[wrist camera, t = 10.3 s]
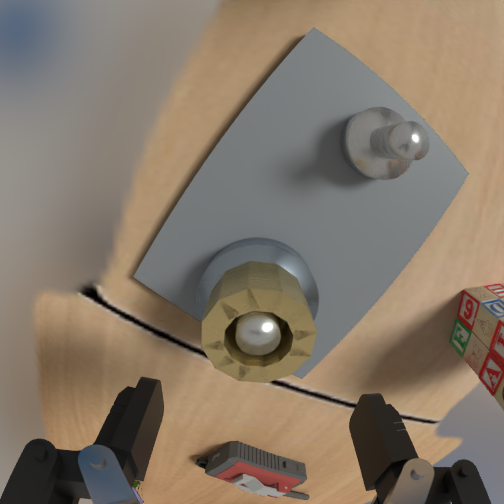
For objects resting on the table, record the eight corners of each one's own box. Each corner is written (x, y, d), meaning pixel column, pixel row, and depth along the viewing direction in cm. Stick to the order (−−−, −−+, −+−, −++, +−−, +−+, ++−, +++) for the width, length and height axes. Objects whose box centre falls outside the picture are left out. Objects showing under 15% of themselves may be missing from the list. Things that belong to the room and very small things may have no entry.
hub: (243, 213, 19) (239, 235, 14) (335, 280, 20) (360, 320, 15) (180, 302, 21) (159, 347, 16) (268, 355, 22) (271, 406, 17)
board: (310, 33, 16) (313, 27, 15) (460, 172, 19) (469, 173, 18) (139, 271, 22) (133, 276, 20) (300, 370, 24) (301, 378, 23)
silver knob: (364, 97, 16) (402, 78, 11) (411, 142, 17) (459, 141, 12) (326, 147, 18) (355, 143, 12) (377, 191, 18) (419, 204, 13)
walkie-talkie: (188, 458, 30) (302, 493, 33) (183, 485, 26) (305, 515, 29) (225, 432, 28) (344, 471, 31) (222, 463, 24) (350, 494, 27)
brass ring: (213, 256, 18) (202, 283, 14) (311, 266, 18) (326, 294, 14) (209, 339, 20) (200, 376, 16) (296, 346, 20) (303, 384, 16)
